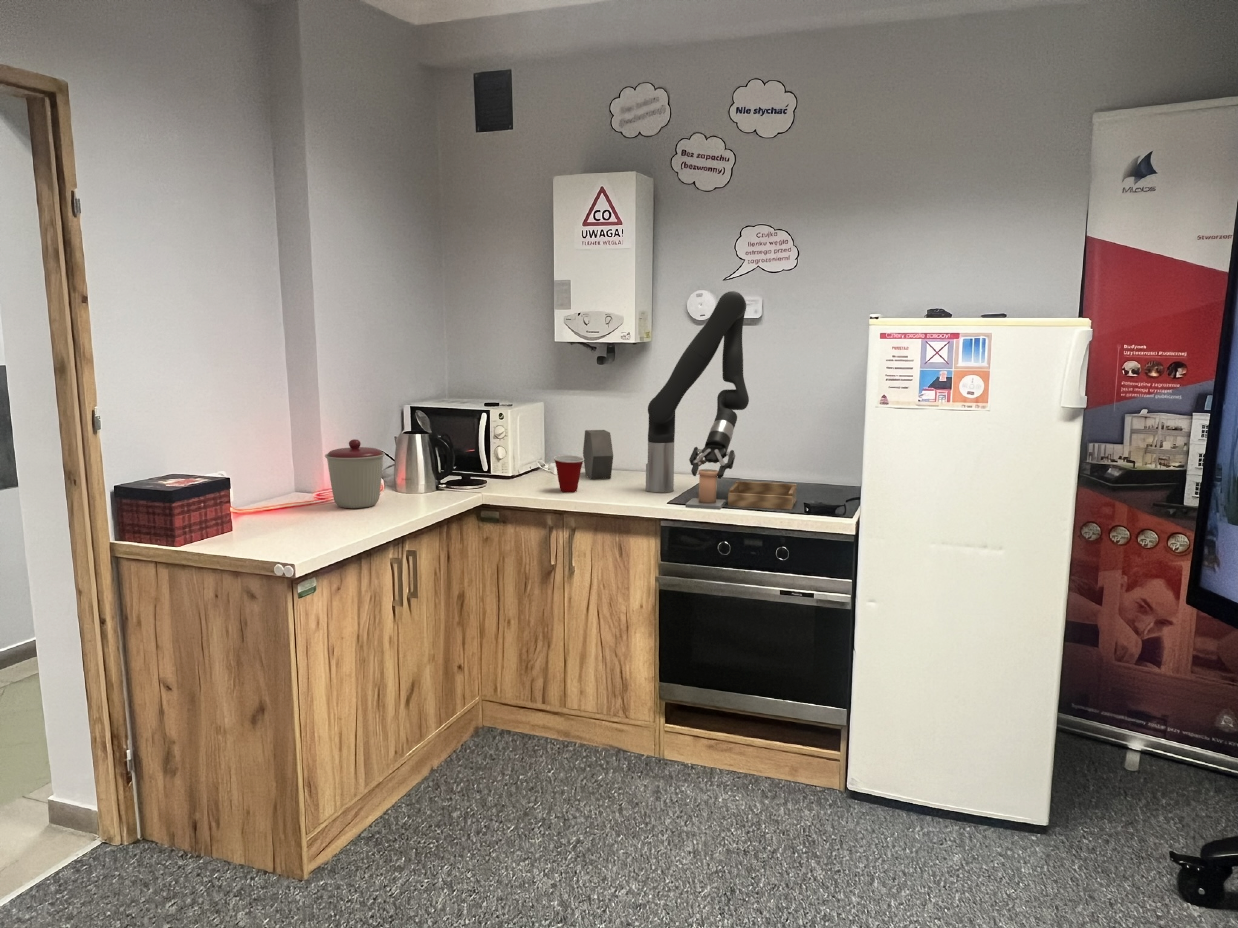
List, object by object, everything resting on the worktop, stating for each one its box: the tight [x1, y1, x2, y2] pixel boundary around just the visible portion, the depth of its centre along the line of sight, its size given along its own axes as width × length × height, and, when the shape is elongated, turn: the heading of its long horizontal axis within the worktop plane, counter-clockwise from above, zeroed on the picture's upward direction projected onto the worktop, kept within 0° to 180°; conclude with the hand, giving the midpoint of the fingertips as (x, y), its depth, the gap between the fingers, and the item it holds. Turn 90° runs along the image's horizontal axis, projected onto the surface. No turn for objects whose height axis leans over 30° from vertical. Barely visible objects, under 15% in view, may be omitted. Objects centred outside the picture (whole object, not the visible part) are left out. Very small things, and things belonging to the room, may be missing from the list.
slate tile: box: [685, 497, 727, 510], centre depth 280 cm, size 11×11×1 cm
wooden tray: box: [727, 480, 797, 510], centre depth 283 cm, size 20×16×6 cm
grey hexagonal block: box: [582, 429, 614, 480], centre depth 333 cm, size 17×8×21 cm
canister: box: [324, 438, 386, 509], centre depth 274 cm, size 18×18×21 cm
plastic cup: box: [553, 454, 585, 493], centre depth 302 cm, size 11×11×12 cm
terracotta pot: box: [697, 468, 719, 503], centre depth 280 cm, size 6×6×10 cm
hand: (706, 476), depth 279 cm, fingers open, 8 cm apart
